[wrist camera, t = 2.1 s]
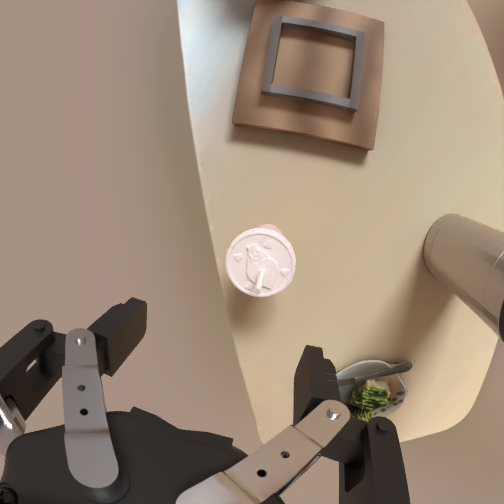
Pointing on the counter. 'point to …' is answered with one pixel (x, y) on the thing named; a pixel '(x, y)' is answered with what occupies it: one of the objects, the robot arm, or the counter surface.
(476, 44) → the counter surface
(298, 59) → the base board
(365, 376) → the salad plate
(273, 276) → the smoothie
